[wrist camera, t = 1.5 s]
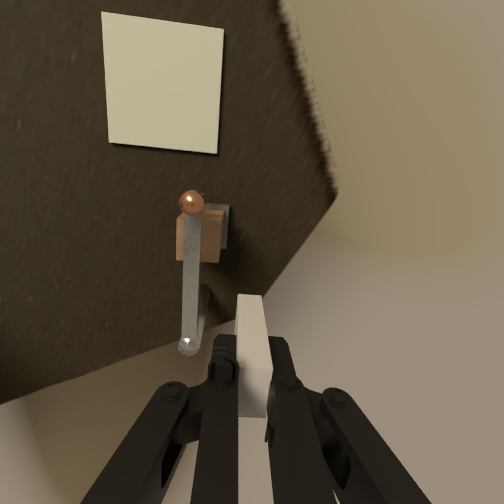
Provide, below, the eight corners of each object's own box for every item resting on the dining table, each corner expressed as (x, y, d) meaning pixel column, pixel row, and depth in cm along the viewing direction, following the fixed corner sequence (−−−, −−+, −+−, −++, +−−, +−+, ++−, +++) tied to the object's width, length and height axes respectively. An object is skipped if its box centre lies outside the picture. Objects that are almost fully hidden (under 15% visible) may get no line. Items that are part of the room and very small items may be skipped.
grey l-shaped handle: (195, 297, 44) (175, 362, 30) (199, 179, 38) (178, 190, 24) (210, 298, 44) (197, 363, 30) (216, 180, 39) (205, 192, 24)
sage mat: (111, 142, 36) (109, 142, 36) (103, 14, 32) (101, 11, 31) (217, 153, 37) (216, 153, 37) (223, 31, 33) (223, 29, 33)
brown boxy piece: (184, 243, 41) (170, 264, 33) (184, 200, 39) (170, 211, 31) (226, 246, 42) (223, 268, 33) (229, 204, 40) (227, 216, 31)
